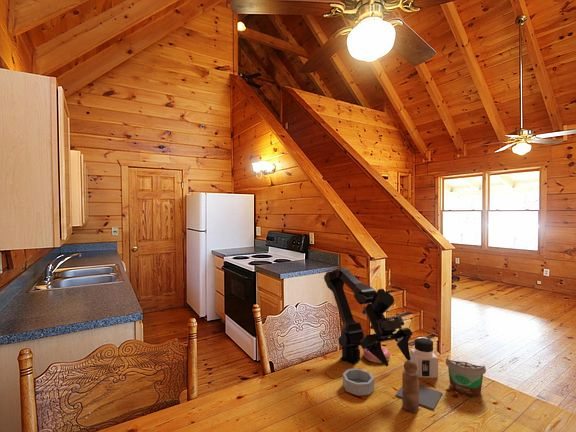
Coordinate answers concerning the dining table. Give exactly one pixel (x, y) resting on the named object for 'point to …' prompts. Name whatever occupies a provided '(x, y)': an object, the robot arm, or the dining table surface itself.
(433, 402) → the mat
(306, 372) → the dining table surface
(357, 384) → the bowl
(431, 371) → the container
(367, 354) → the doughnut
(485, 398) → the dining table surface
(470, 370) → the food container
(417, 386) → the pepper mill
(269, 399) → the dining table surface
